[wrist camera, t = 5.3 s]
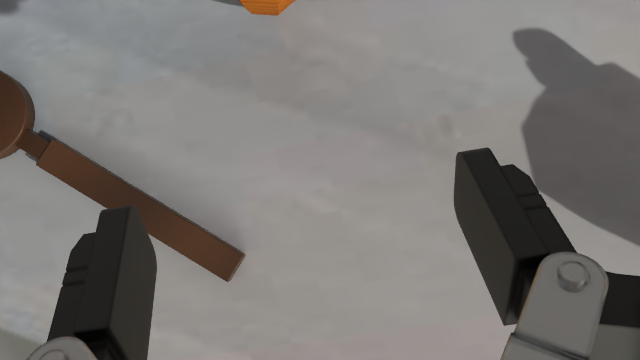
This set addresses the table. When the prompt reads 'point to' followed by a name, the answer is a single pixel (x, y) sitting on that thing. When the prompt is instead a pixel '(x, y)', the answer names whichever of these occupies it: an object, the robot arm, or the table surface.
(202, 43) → the table surface
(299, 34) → the table surface
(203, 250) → the wooden spoon
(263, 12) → the carrot
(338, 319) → the table surface
